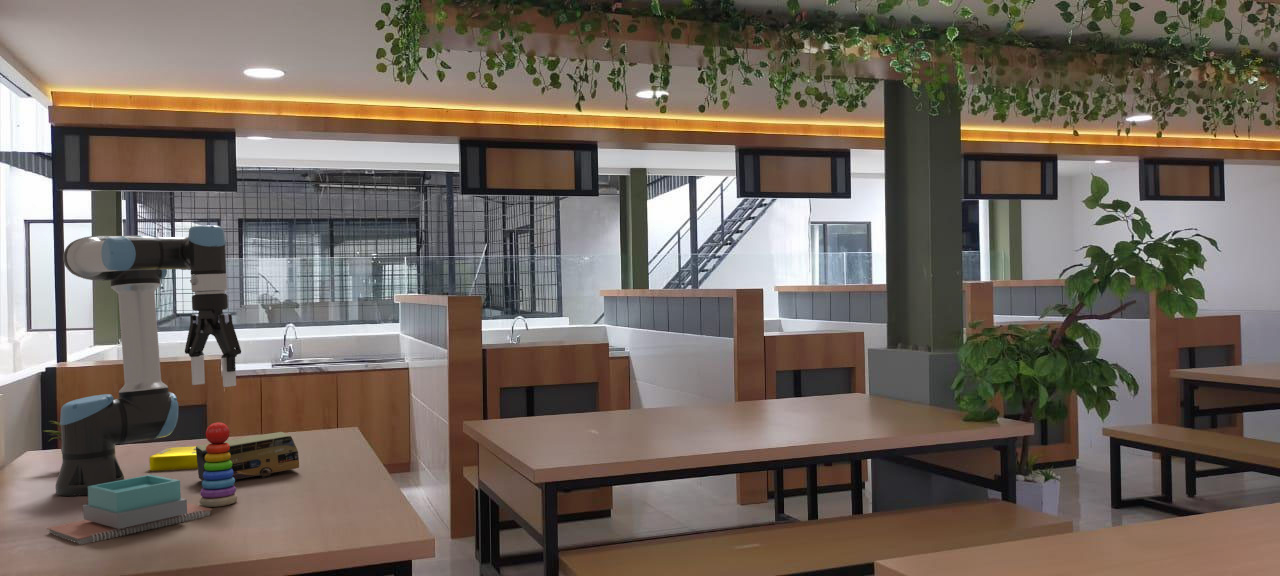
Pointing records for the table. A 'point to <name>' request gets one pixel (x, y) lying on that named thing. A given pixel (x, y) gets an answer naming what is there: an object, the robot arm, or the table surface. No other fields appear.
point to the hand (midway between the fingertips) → (213, 385)
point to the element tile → (174, 459)
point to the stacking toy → (218, 469)
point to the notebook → (95, 531)
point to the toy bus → (256, 455)
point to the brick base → (135, 514)
